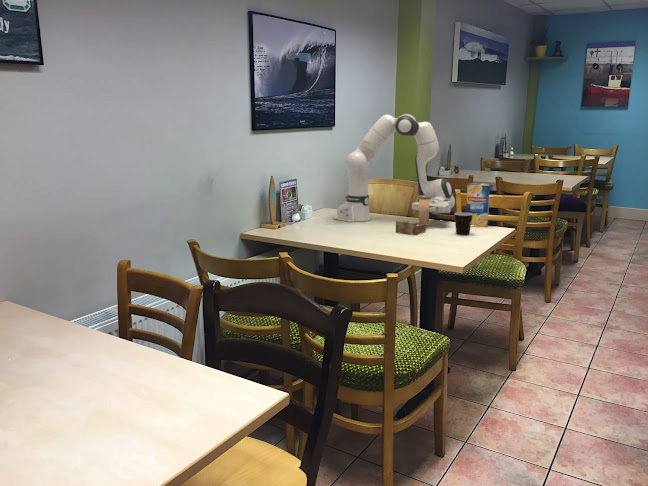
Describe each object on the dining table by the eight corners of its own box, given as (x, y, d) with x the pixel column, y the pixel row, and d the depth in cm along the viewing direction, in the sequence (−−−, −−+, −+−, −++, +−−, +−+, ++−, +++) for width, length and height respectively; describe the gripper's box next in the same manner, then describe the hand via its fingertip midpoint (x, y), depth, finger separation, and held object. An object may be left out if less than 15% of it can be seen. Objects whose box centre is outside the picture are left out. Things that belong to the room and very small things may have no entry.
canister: (416, 224, 284) (416, 196, 280) (421, 222, 288) (422, 194, 285) (425, 225, 280) (426, 197, 277) (431, 223, 285) (431, 195, 281)
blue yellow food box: (487, 227, 283) (489, 185, 278) (465, 226, 287) (467, 184, 282) (487, 224, 290) (490, 183, 285) (466, 223, 293) (468, 183, 288)
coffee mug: (459, 231, 275) (460, 211, 272) (474, 233, 269) (475, 213, 266) (447, 235, 267) (447, 215, 265) (462, 237, 261) (463, 217, 259)
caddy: (395, 232, 275) (395, 220, 273) (406, 229, 282) (406, 217, 281) (415, 235, 268) (415, 223, 266) (425, 231, 275) (425, 220, 274)
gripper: (419, 198, 298) (406, 201, 288) (453, 201, 285) (440, 205, 275) (419, 209, 299) (406, 213, 289) (453, 213, 287) (440, 217, 276)
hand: (423, 209), depth 282 cm, fingers closed on canister, 5 cm apart
